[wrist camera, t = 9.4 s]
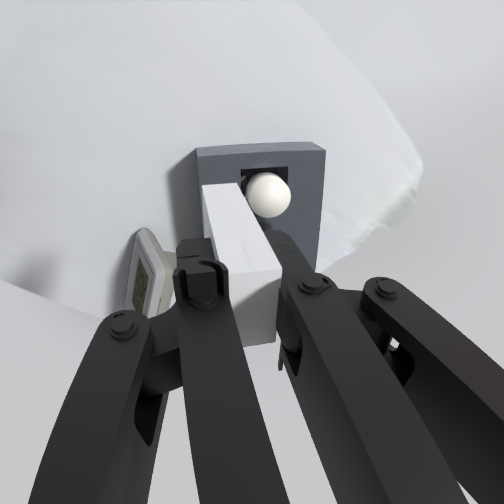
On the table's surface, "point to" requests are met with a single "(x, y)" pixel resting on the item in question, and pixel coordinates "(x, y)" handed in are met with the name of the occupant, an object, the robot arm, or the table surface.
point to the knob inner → (267, 194)
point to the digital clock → (150, 276)
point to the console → (289, 170)
